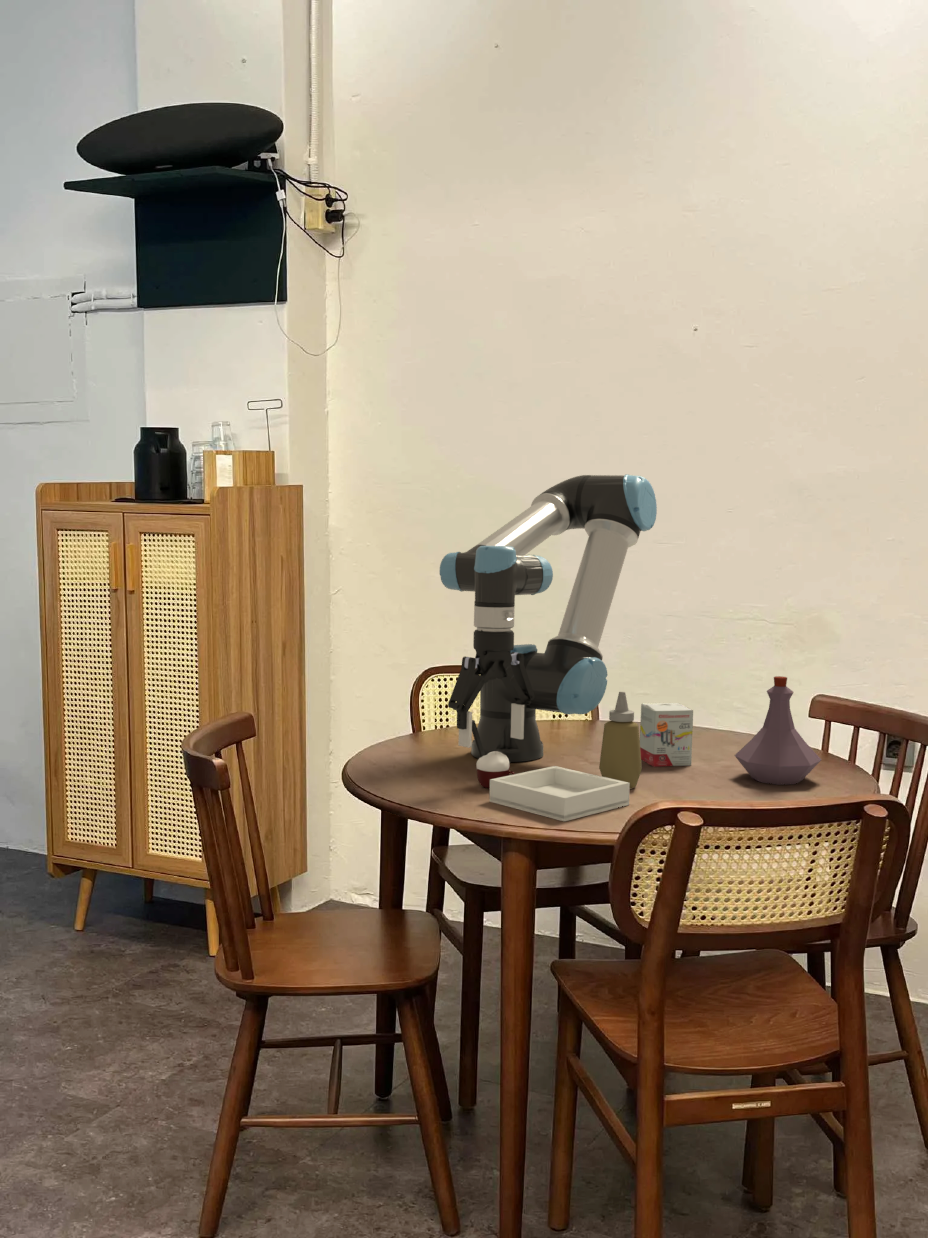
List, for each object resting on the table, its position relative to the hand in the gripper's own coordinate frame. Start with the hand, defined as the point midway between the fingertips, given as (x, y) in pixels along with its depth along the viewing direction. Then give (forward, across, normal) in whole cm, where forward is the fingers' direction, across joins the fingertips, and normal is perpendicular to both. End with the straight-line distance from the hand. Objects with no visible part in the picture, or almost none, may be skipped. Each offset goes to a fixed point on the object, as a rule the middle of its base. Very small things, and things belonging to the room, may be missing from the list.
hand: (491, 742), depth 233 cm
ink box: (+8, +43, -8) cm, 44 cm away
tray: (+8, +1, -17) cm, 19 cm away
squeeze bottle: (+8, +19, -16) cm, 26 cm away
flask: (+8, +47, -32) cm, 57 cm away
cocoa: (+9, +1, 0) cm, 9 cm away
